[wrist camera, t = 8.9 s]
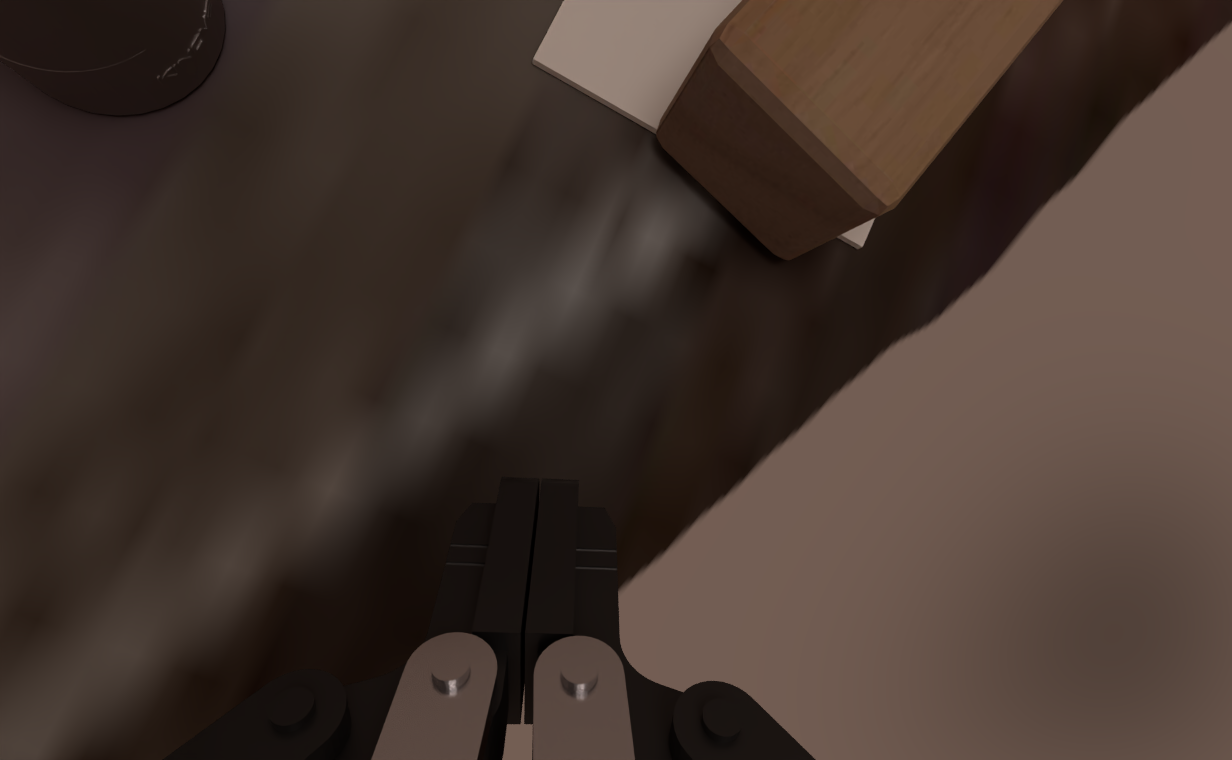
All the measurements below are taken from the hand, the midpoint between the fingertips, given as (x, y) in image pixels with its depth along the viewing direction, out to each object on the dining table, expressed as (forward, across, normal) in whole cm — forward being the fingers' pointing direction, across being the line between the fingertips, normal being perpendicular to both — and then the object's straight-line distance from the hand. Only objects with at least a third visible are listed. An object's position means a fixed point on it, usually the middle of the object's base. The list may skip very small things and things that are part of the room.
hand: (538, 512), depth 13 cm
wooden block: (+20, -8, -2) cm, 22 cm away
